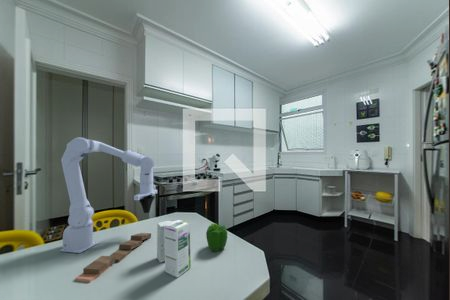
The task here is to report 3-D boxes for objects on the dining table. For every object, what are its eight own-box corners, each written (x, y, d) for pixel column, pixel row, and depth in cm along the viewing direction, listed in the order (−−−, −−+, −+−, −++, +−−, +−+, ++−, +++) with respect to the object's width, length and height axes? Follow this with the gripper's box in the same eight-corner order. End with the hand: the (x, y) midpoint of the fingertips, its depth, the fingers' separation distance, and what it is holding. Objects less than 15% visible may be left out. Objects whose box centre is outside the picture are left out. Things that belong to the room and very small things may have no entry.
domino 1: (115, 261, 60) (98, 274, 53) (101, 260, 60) (83, 273, 53) (115, 256, 60) (98, 269, 53) (101, 255, 60) (83, 268, 53)
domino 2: (110, 269, 57) (90, 285, 51) (97, 268, 58) (75, 283, 51) (110, 264, 58) (90, 279, 51) (97, 263, 58) (75, 277, 52)
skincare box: (159, 263, 59) (159, 226, 60) (156, 257, 63) (156, 222, 63) (177, 257, 63) (177, 222, 63) (173, 251, 66) (173, 219, 67)
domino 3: (142, 244, 73) (130, 249, 66) (131, 243, 74) (118, 248, 67) (142, 239, 73) (131, 245, 66) (131, 239, 74) (119, 244, 67)
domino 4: (131, 253, 67) (119, 264, 60) (119, 252, 68) (105, 263, 61) (131, 248, 67) (119, 259, 60) (119, 248, 68) (105, 258, 61)
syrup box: (177, 278, 52) (177, 228, 52) (164, 271, 55) (163, 224, 55) (191, 267, 56) (190, 222, 57) (178, 262, 60) (177, 218, 60)
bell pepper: (221, 241, 74) (221, 217, 75) (231, 250, 67) (230, 223, 67) (202, 245, 70) (202, 220, 71) (210, 256, 63) (210, 227, 64)
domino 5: (150, 237, 79) (141, 240, 72) (140, 236, 80) (130, 239, 73) (151, 233, 79) (141, 236, 73) (141, 232, 80) (130, 235, 73)
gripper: (144, 185, 74) (144, 218, 73) (162, 180, 88) (162, 208, 88) (129, 185, 75) (129, 217, 75) (150, 180, 90) (150, 207, 89)
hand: (146, 212), depth 81 cm, fingers closed
